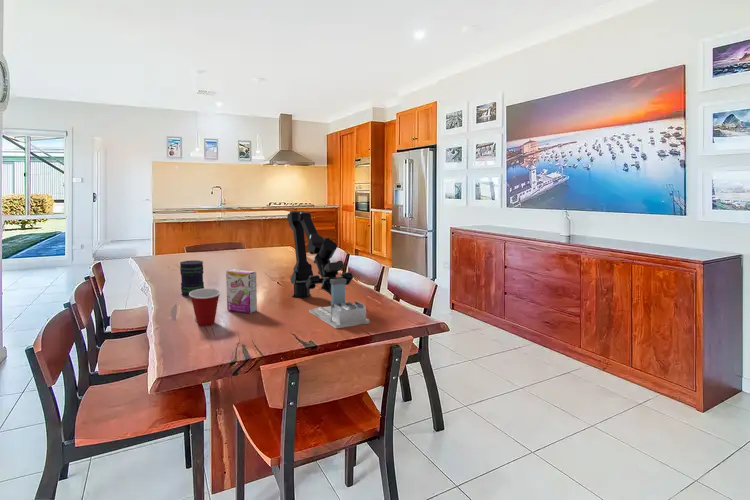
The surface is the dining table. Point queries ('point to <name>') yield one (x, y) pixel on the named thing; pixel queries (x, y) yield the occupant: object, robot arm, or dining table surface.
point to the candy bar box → (241, 291)
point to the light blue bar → (337, 290)
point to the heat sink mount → (342, 314)
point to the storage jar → (191, 276)
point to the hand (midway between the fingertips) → (336, 298)
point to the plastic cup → (205, 305)
